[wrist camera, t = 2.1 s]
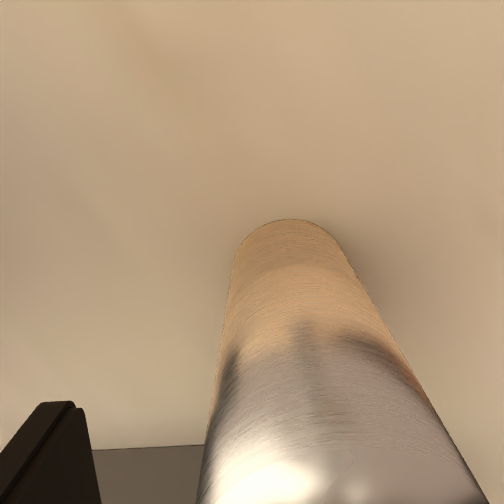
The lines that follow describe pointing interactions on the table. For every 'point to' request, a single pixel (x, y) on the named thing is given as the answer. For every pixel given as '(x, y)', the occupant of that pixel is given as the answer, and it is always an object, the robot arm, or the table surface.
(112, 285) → the table surface
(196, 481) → the hole block
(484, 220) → the table surface
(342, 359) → the steel pin
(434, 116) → the table surface
